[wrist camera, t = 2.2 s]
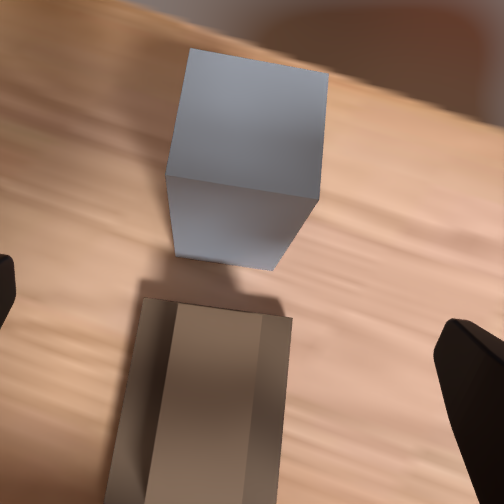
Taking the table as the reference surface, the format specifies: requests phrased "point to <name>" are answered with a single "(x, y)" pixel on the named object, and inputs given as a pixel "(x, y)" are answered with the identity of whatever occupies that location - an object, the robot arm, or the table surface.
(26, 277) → the table surface
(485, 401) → the robot arm
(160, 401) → the walnut ridge
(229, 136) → the slate post
